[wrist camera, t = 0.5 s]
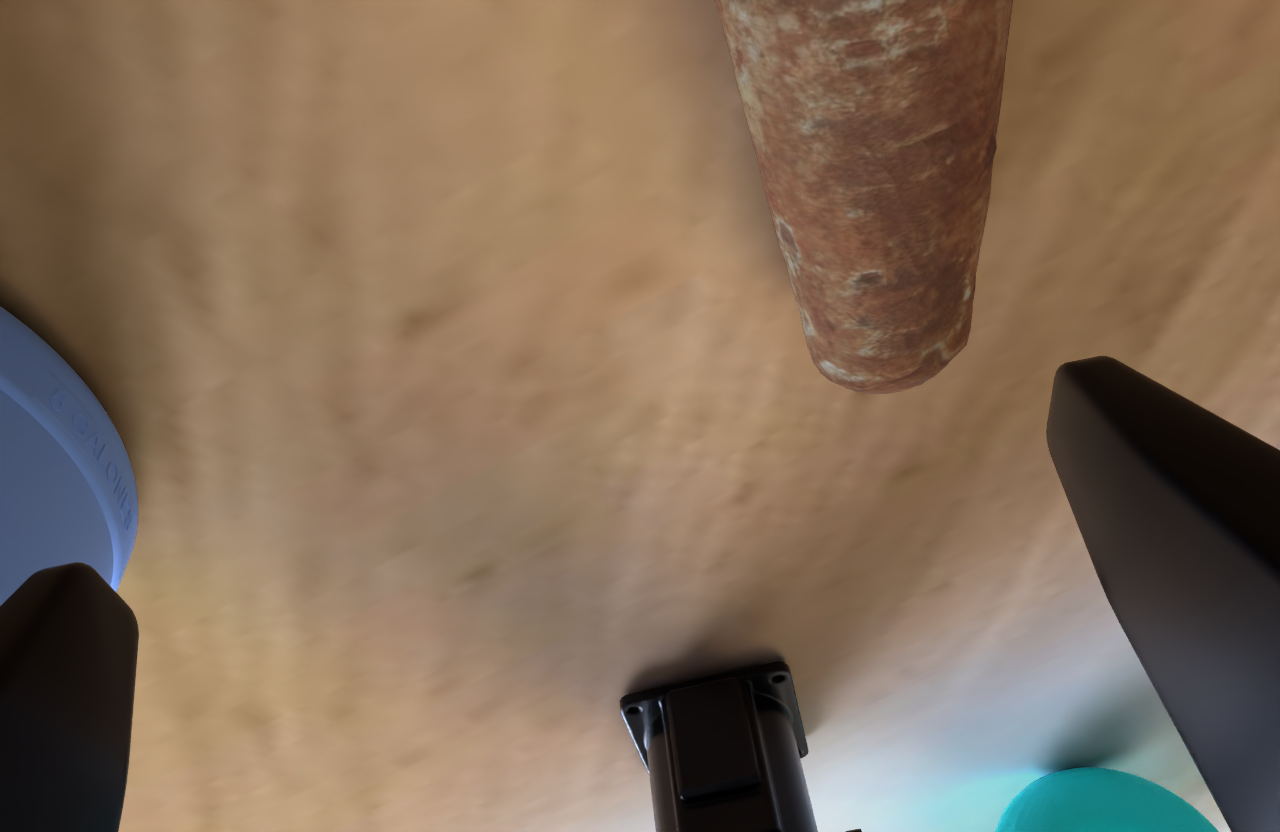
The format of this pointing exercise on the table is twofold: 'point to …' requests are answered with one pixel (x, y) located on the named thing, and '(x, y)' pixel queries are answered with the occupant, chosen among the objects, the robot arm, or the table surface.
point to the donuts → (1099, 805)
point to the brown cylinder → (875, 169)
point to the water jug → (58, 468)
